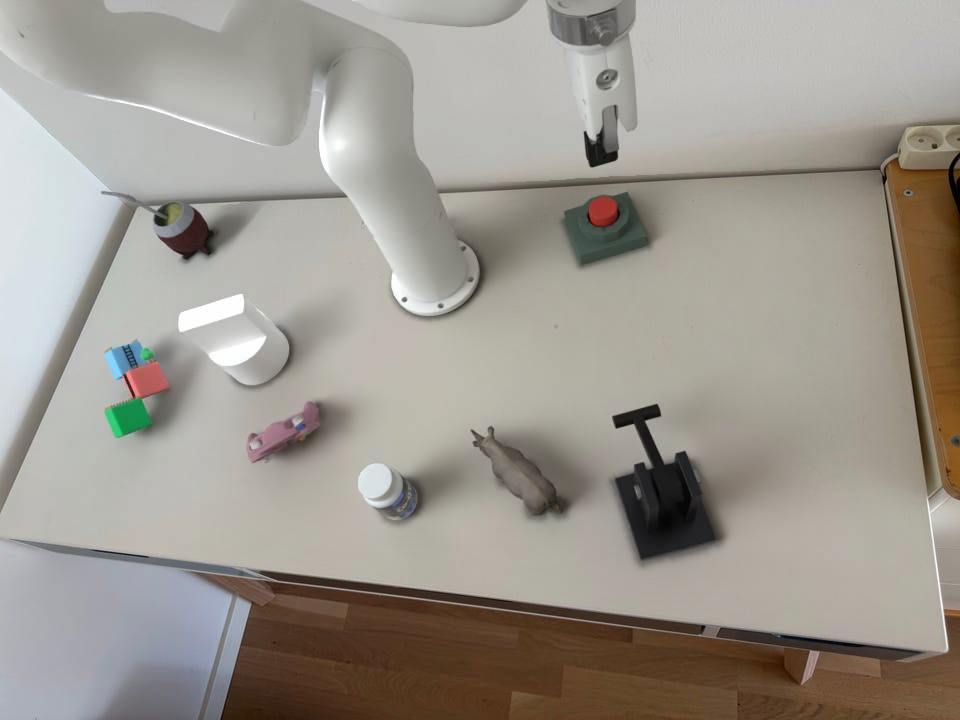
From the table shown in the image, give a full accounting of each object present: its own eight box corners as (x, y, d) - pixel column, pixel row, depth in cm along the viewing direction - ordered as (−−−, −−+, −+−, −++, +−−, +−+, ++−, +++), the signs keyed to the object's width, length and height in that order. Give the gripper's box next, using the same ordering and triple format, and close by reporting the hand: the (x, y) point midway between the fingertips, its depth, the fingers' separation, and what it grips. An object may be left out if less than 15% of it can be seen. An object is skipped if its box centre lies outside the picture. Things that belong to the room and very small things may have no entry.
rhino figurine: (490, 425, 80) (479, 406, 74) (570, 504, 73) (565, 489, 68) (465, 448, 79) (453, 430, 74) (544, 530, 72) (537, 517, 67)
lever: (613, 425, 72) (610, 410, 70) (658, 413, 71) (655, 397, 70) (647, 510, 62) (643, 494, 60) (699, 496, 61) (696, 480, 60)
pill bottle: (413, 523, 76) (389, 505, 69) (376, 517, 77) (348, 498, 70) (422, 484, 78) (400, 462, 71) (386, 478, 79) (360, 456, 72)
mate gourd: (227, 239, 104) (168, 174, 91) (191, 274, 102) (125, 213, 89) (201, 220, 107) (141, 154, 94) (166, 254, 105) (99, 192, 92)
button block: (565, 221, 91) (562, 202, 88) (627, 201, 90) (627, 182, 87) (580, 265, 87) (578, 247, 84) (646, 245, 86) (646, 226, 83)
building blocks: (164, 419, 96) (131, 343, 95) (181, 413, 90) (147, 332, 89) (108, 441, 91) (73, 361, 90) (123, 436, 85) (85, 350, 84)
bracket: (614, 481, 73) (610, 446, 63) (684, 462, 72) (692, 423, 62) (640, 561, 69) (640, 537, 59) (715, 542, 68) (728, 514, 58)
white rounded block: (230, 392, 90) (177, 353, 80) (229, 338, 94) (179, 294, 84) (291, 374, 89) (245, 332, 79) (287, 321, 94) (243, 274, 83)
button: (586, 210, 87) (585, 201, 85) (612, 202, 86) (612, 193, 85) (594, 230, 85) (593, 222, 83) (621, 222, 85) (620, 213, 83)
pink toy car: (266, 466, 85) (247, 471, 78) (249, 435, 86) (229, 438, 79) (332, 428, 86) (319, 430, 79) (315, 398, 86) (301, 397, 79)
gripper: (661, 47, 52) (656, 199, 68) (610, -55, 59) (616, 104, 75) (569, 76, 53) (586, 219, 69) (530, -29, 60) (553, 123, 76)
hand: (602, 158), depth 72 cm, fingers closed
